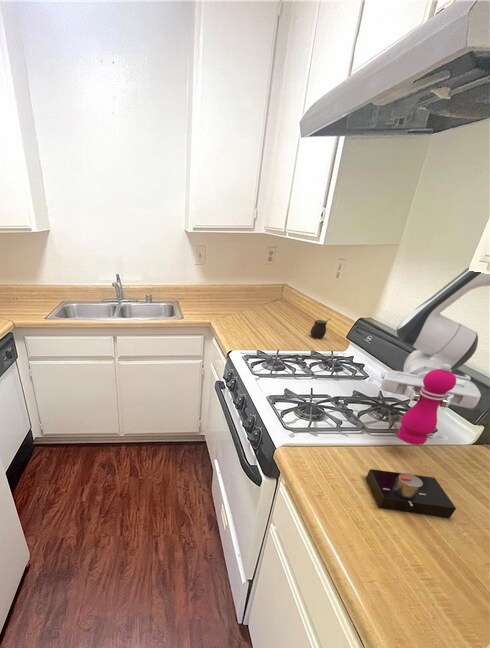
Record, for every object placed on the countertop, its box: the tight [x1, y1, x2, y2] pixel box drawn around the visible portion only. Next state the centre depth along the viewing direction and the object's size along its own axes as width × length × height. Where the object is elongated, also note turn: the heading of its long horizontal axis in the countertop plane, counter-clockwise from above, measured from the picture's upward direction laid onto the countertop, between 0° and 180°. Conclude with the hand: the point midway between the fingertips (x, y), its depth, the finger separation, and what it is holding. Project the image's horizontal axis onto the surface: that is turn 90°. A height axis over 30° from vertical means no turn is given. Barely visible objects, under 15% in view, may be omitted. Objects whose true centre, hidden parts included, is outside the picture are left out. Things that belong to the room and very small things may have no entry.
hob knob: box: [393, 472, 423, 499], centre depth 74 cm, size 4×4×4 cm
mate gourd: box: [310, 317, 331, 339], centre depth 171 cm, size 7×8×10 cm
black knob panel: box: [365, 468, 457, 519], centre depth 77 cm, size 14×11×3 cm
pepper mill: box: [396, 364, 456, 446], centre depth 82 cm, size 7×7×20 cm
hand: (430, 401), depth 81 cm, fingers closed on pepper mill, 4 cm apart
